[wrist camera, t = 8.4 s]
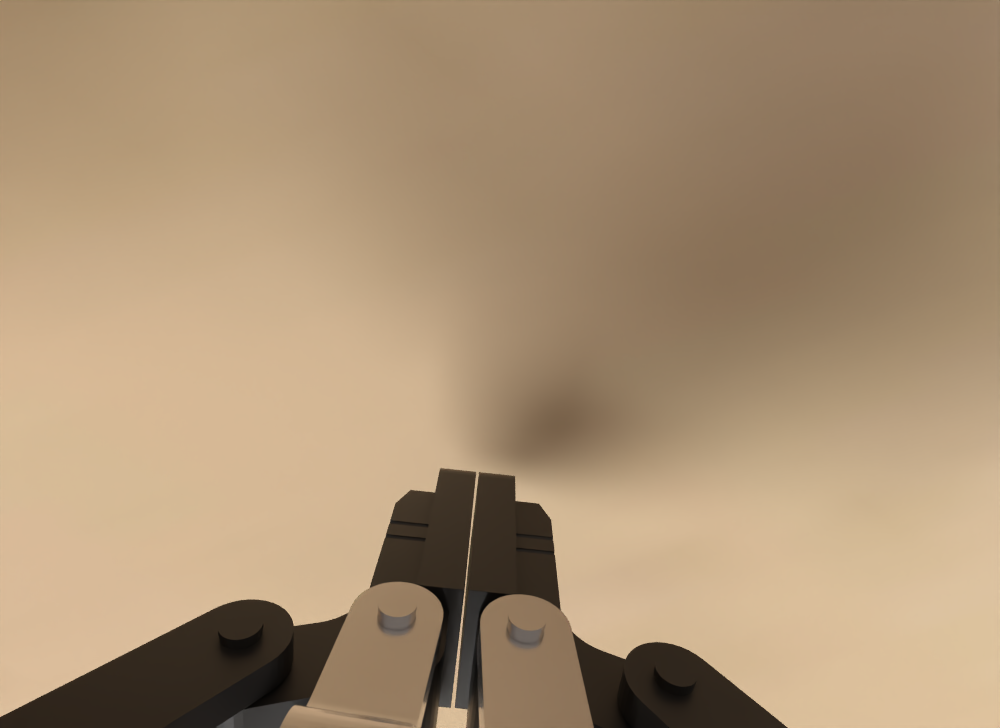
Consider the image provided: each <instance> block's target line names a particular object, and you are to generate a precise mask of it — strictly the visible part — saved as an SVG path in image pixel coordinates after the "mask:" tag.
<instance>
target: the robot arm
mask: <svg viewBox="0 0 1000 728" xmlns="http://www.w3.org/2000/svg"><path fill="white" fill-rule="evenodd" d="M475 478H476V472H471V471H462V470H453V469H443V468H440V472H439V477H438V482H437V486H436V491H435V493H433V492H424V491H414V490H410V491H409V492H408V493H407V494H406V495H405V496H403V497H402V498H401V499H400V500H399V501H398V502H397V503H396V504H395V507H394V510H393V514H392V517H391V520H390V524H389V527H388V530H387V533H386V538H385V540H384V543H383V546H382V549H381V553H380V556H379V559H378V562H377V566H376V569H375V572H374V575H373V579H372V582H371V585H370V588H369V589H367V590H366V591H364V592H363V593H361V594H360V595H359V596H358V597H357V598H356V599H355V601H354V603H353V604H352V606H351V608H350V611H349V612H348V613H347V614H345V615H343V616H341V617H338V618H336V619H332V620H329V621H325V622H320V623H313V624H306V625H299V626H294V625H293V621H292V618H291V617H290V615H289V614H288V612H287V611H286V610H285V609H283V608H282V607H280V606H279V605H276V604H274V603H271V602H268V601H263V600H240V601H235V602H231V603H228V604H225V605H222V606H220V607H217V608H215V609H213V610H211V611H209V612H207V613H205V614H203V615H201V616H199V617H197V618H195V619H193V620H191V621H189V622H187V623H185V624H183V625H181V626H179V627H177V628H176V629H174V630H172V631H170V632H168V633H166V634H164V635H162V636H160V637H158V638H156V639H154V640H152V641H150V642H148V643H146V644H144V645H142V646H140V647H138V648H136V649H134V650H132V651H130V652H128V653H126V654H124V655H122V656H120V657H118V658H116V659H114V660H112V661H110V662H108V663H106V664H104V665H102V666H100V667H98V668H96V669H95V670H93V671H91V672H89V673H87V674H85V675H83V676H81V677H79V678H77V679H75V680H73V681H71V682H69V683H67V684H65V685H63V686H61V687H59V688H57V689H55V690H53V691H51V692H49V693H47V694H45V695H43V696H41V697H39V698H37V699H35V700H33V701H31V702H29V703H27V704H25V705H23V706H21V707H19V708H17V709H15V710H14V711H12V712H10V713H8V714H6V715H4V716H2V717H0V728H436V723H437V715H438V707H449V708H451V700H452V692H453V683H454V675H455V666H456V658H457V649H458V640H459V632H460V623H461V615H462V606H463V598H464V589H465V579H466V569H467V559H468V548H469V538H470V528H471V518H472V508H473V498H474V488H475ZM455 708H462V709H468V712H467V725H466V728H787V727H786V726H785V725H784V724H782V723H781V722H780V721H779V720H777V719H776V718H775V717H774V716H772V715H771V714H770V713H769V712H767V711H766V710H765V709H764V708H762V707H761V706H760V705H759V704H758V703H756V702H755V701H754V700H753V699H751V698H750V697H749V696H748V695H746V694H745V693H744V692H743V691H741V690H740V689H739V688H738V687H736V686H735V685H734V684H733V683H731V682H730V681H729V680H728V679H726V678H725V677H724V676H723V675H722V674H720V673H719V672H718V671H717V670H715V669H714V668H713V667H712V666H710V665H709V664H708V663H707V662H705V661H704V660H703V659H701V658H700V657H699V656H697V655H696V654H694V653H692V652H691V651H689V650H687V649H684V648H682V647H679V646H676V645H673V644H668V643H660V642H654V643H646V644H642V645H640V646H638V647H636V648H634V649H633V650H632V651H631V652H630V653H629V654H628V656H627V658H626V659H623V658H620V657H617V656H615V655H612V654H609V653H606V652H603V651H601V650H599V649H596V648H594V647H592V646H590V645H589V644H587V643H585V642H584V641H582V640H581V639H580V638H578V637H577V636H576V635H575V634H574V633H573V632H572V629H571V626H570V623H569V621H568V619H567V617H566V616H565V615H564V614H563V612H562V611H561V609H560V599H559V590H558V581H557V571H556V562H555V555H554V543H553V534H552V525H551V519H550V518H549V517H548V515H547V514H546V513H545V511H544V510H543V509H542V507H541V506H540V505H539V504H537V503H527V502H518V501H515V476H509V475H500V474H491V473H481V472H479V478H478V486H477V495H476V503H475V512H474V520H473V529H472V537H471V546H470V555H469V565H468V575H467V585H466V596H465V606H464V617H463V627H462V638H461V648H460V659H459V669H458V680H457V690H456V701H455Z"/></svg>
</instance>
